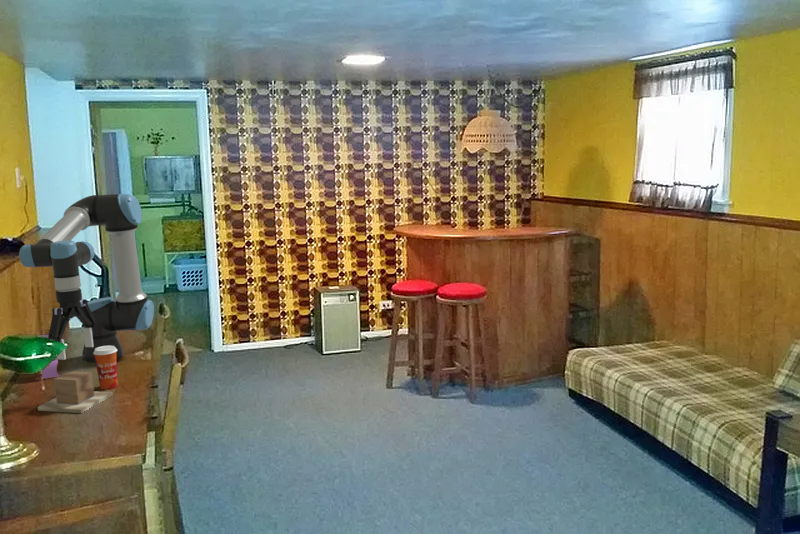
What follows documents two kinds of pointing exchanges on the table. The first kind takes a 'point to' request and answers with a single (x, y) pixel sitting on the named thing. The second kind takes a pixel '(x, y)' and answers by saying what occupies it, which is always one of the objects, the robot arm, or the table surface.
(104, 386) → the paper cup
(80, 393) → the walnut block
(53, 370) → the toy chair
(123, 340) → the table surface
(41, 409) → the blueprint plate
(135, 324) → the robot arm
